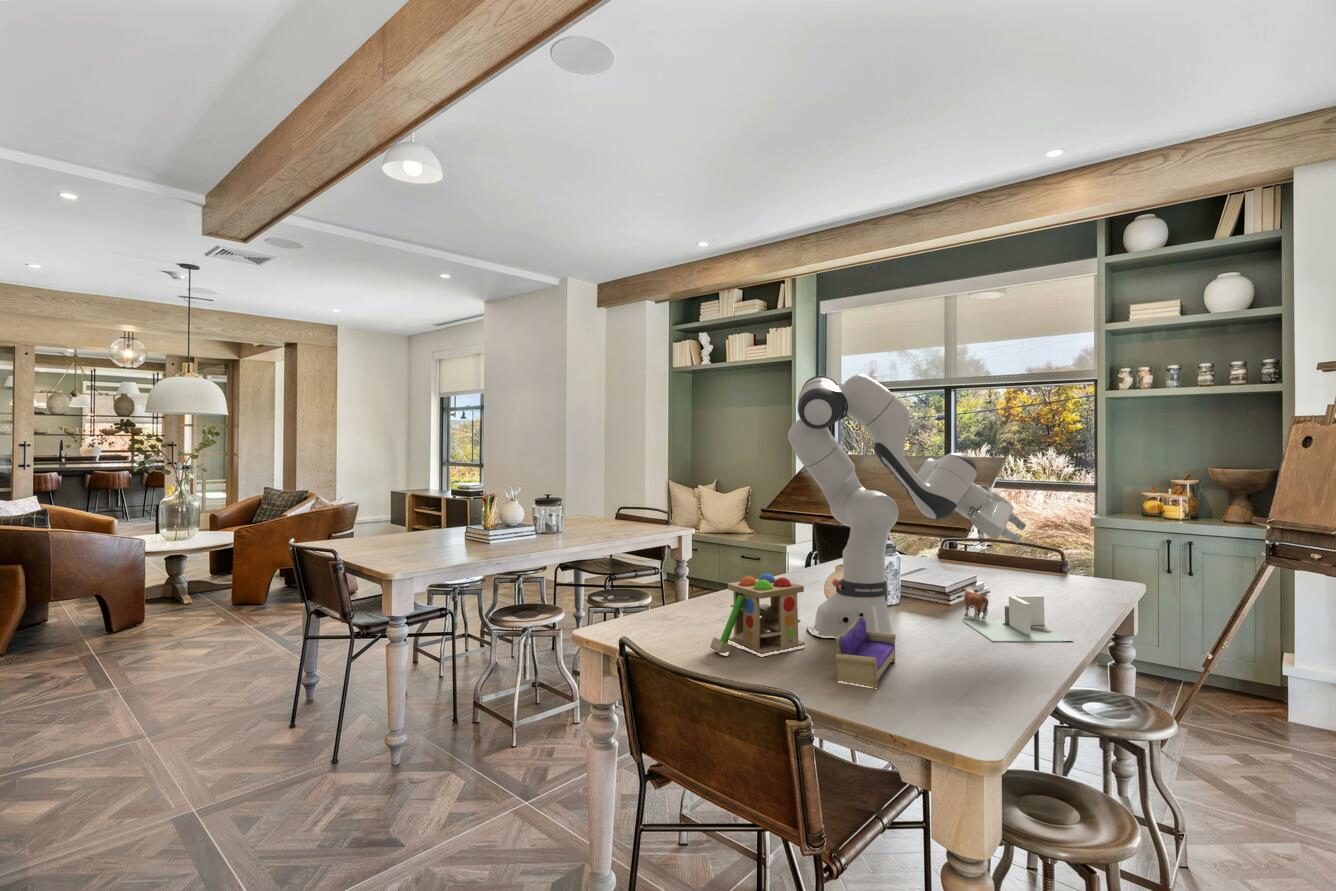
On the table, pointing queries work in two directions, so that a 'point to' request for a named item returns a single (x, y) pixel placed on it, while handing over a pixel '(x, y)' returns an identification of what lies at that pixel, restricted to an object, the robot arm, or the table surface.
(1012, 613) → the white rectangular slab
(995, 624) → the mat
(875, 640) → the toy sofa
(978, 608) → the bull figurine
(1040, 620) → the fixed rail
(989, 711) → the table surface
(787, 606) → the pounding bench toy
